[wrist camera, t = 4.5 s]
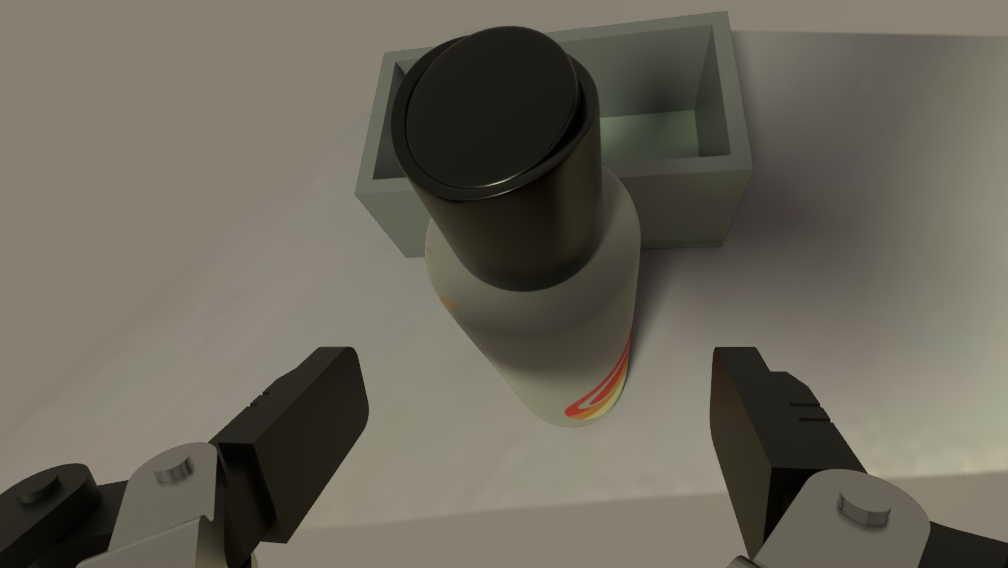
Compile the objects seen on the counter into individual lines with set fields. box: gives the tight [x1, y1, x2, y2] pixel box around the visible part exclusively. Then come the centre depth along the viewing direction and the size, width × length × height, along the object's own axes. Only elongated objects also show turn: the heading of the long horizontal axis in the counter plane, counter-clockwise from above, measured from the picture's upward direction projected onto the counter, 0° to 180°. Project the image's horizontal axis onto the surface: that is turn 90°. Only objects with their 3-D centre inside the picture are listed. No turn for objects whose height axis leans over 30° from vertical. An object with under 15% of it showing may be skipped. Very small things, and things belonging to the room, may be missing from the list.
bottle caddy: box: [355, 11, 754, 257], centre depth 28 cm, size 18×10×7 cm, turn 86°
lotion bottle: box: [390, 26, 641, 427], centre depth 17 cm, size 6×6×20 cm
